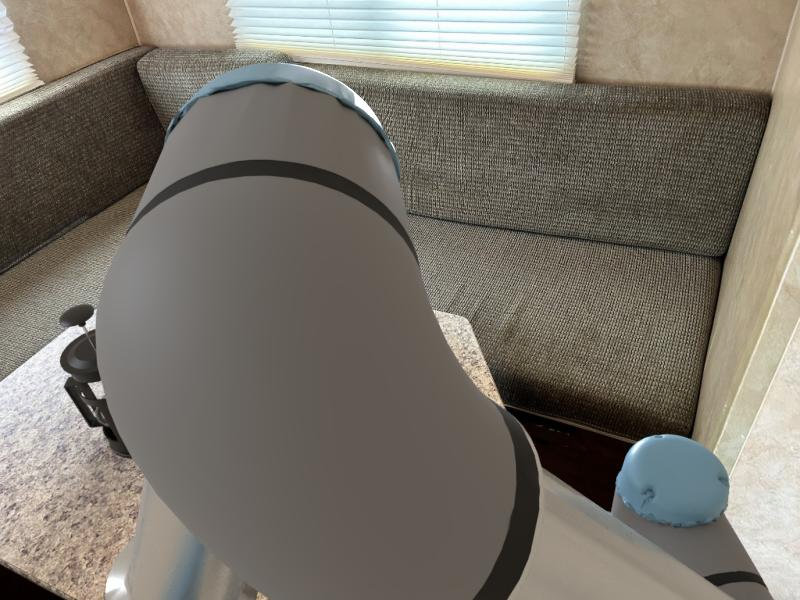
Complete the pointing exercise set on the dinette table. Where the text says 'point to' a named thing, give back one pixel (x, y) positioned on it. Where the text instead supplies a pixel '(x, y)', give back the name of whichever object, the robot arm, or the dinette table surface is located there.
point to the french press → (87, 377)
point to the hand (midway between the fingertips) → (340, 453)
